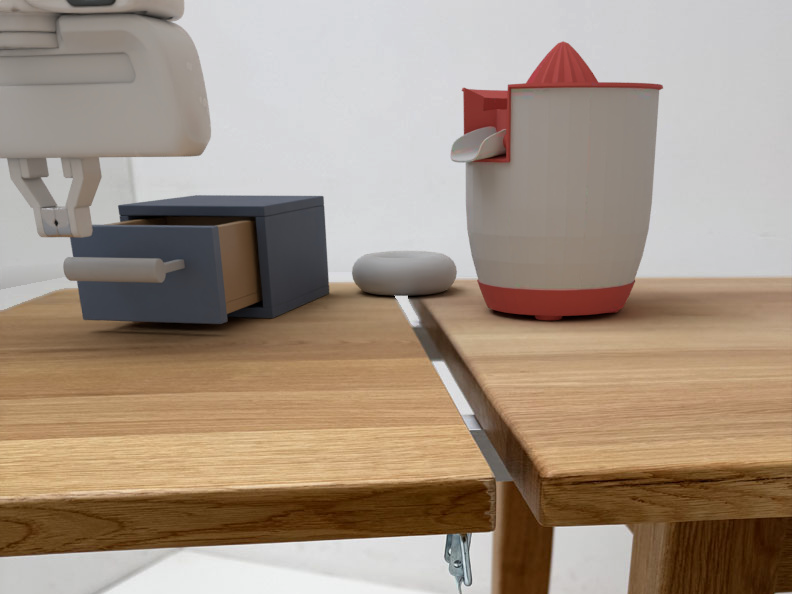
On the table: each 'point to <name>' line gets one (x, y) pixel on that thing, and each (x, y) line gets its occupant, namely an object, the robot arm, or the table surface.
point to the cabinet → (265, 242)
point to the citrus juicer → (558, 188)
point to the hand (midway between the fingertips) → (66, 236)
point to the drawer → (167, 269)
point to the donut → (404, 273)
